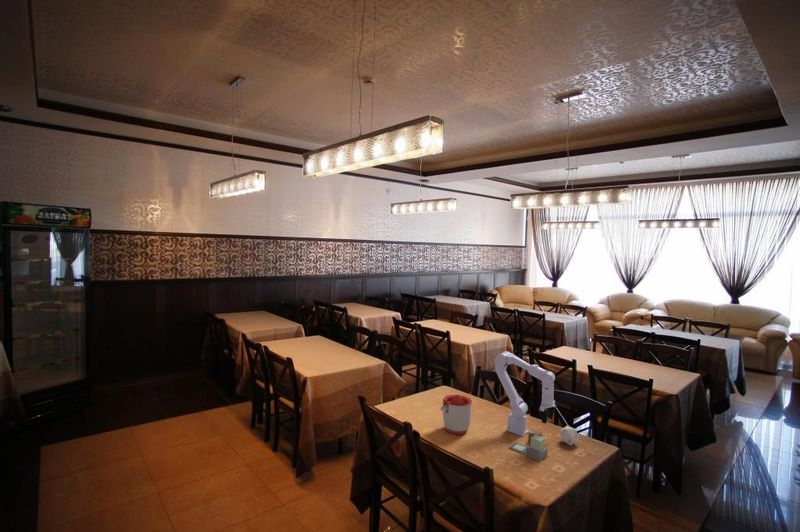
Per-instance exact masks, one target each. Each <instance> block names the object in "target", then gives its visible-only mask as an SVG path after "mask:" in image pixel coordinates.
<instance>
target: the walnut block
mask: <svg viewBox="0 0 800 532" xmlns="http://www.w3.org/2000/svg"><path fill="white" fill-rule="evenodd" d="M535 434H536V435H538V436H541V437H543V436H542V435H543V433H542V432H541V431H540V430H539V431H538V430H535V429H534V428H533V429H531V430H530V431H529V432H528V434H527V435H528V438H527V442H528V443H531V437H532V436H534V435H535Z"/></svg>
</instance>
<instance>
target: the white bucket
mask: <svg viewBox="0 0 800 532" xmlns="http://www.w3.org/2000/svg"><path fill="white" fill-rule="evenodd" d="M472 403H473V401H472V399H471V398H470V397H468V396H465V395H462V394H449V395H446V396H444V397H443V398H442V406H441V407H440V411H441V412H442V419H443V424H444V429H445V430H446V431H447V433H449V434H452V435H464V434H466V433H467V432H468V430H469V428H470V424H471V419H472Z"/></svg>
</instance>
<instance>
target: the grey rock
mask: <svg viewBox="0 0 800 532" xmlns="http://www.w3.org/2000/svg"><path fill="white" fill-rule="evenodd" d="M559 435H560V438H561V441H562V442H563V443H565V444H566V445H568V446H573V445H574V444H576V443H577V442H578V441H580V438H579V435H578V432H577V429H575V428H574V427H571V426H570V425H566V426H565V427H562V428H561V429H560V430H559Z"/></svg>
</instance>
